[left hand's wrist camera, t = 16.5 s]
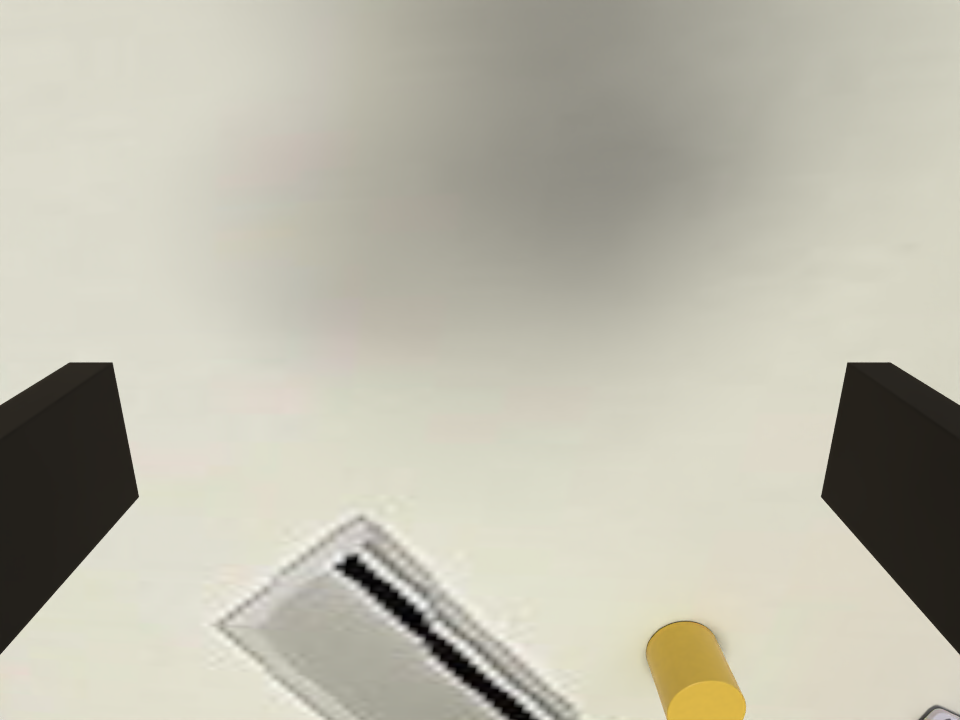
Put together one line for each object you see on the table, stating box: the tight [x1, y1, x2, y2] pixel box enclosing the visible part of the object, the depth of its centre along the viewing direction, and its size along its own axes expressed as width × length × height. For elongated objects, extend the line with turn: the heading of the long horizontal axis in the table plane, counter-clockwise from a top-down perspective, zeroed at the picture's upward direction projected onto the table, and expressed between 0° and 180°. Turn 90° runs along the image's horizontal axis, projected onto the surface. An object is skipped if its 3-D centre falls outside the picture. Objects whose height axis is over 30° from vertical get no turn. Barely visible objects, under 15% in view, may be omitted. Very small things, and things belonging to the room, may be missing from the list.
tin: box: [646, 622, 746, 720], centre depth 39 cm, size 4×4×5 cm
